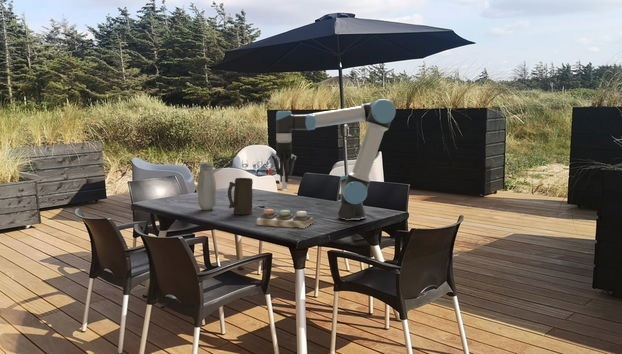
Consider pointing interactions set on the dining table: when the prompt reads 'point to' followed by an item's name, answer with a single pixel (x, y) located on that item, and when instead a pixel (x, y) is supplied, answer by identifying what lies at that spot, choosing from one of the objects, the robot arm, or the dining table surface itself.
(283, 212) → the sage button
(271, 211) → the terracotta button
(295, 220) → the button panel
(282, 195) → the dining table surface
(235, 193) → the beer stein
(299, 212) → the cream button
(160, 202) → the dining table surface
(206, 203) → the glass bottle
